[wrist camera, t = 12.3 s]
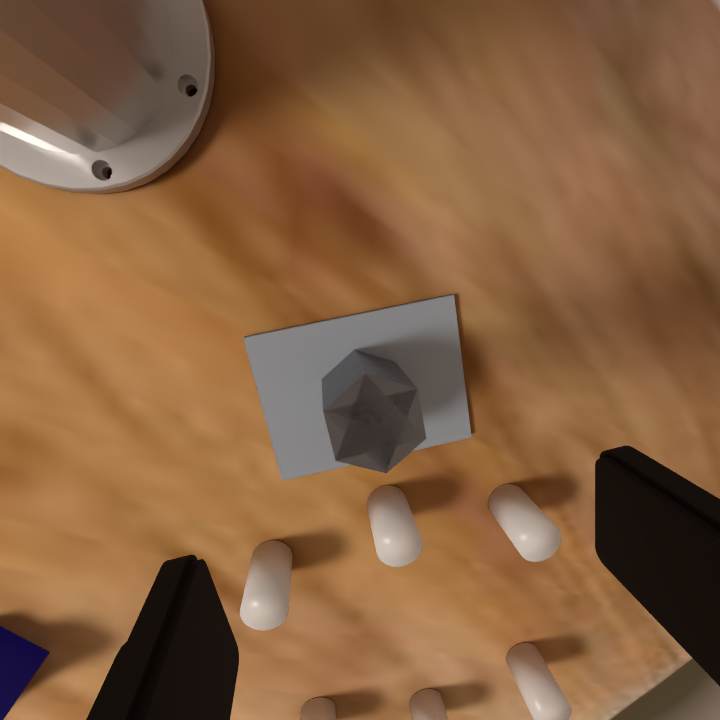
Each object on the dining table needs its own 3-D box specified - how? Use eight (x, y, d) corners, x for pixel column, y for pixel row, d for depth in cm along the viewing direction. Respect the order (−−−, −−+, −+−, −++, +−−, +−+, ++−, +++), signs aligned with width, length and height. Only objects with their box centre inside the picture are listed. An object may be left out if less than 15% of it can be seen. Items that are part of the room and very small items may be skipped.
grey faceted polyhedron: (316, 358, 22) (316, 384, 17) (391, 340, 22) (413, 362, 17) (336, 438, 23) (341, 484, 18) (406, 421, 23) (430, 462, 18)
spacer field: (239, 519, 24) (224, 568, 20) (520, 453, 25) (558, 488, 21) (310, 745, 29) (309, 819, 25) (540, 682, 30) (573, 743, 26)
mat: (244, 336, 21) (243, 338, 21) (451, 294, 22) (454, 295, 22) (282, 477, 24) (282, 480, 23) (469, 434, 24) (471, 437, 24)
